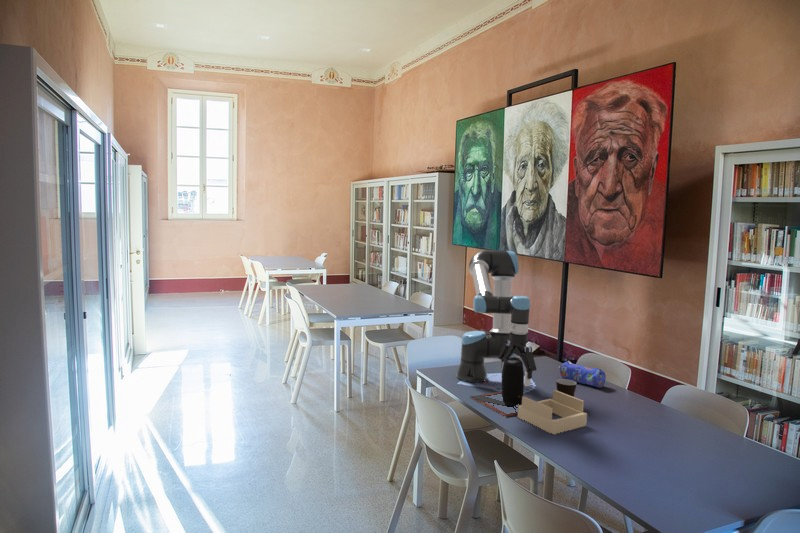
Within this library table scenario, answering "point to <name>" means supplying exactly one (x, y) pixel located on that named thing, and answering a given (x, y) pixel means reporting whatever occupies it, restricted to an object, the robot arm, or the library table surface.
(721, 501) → the library table surface
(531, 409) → the carton
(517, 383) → the portable speaker
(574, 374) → the pencil case
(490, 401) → the picture frame
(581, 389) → the library table surface
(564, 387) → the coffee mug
